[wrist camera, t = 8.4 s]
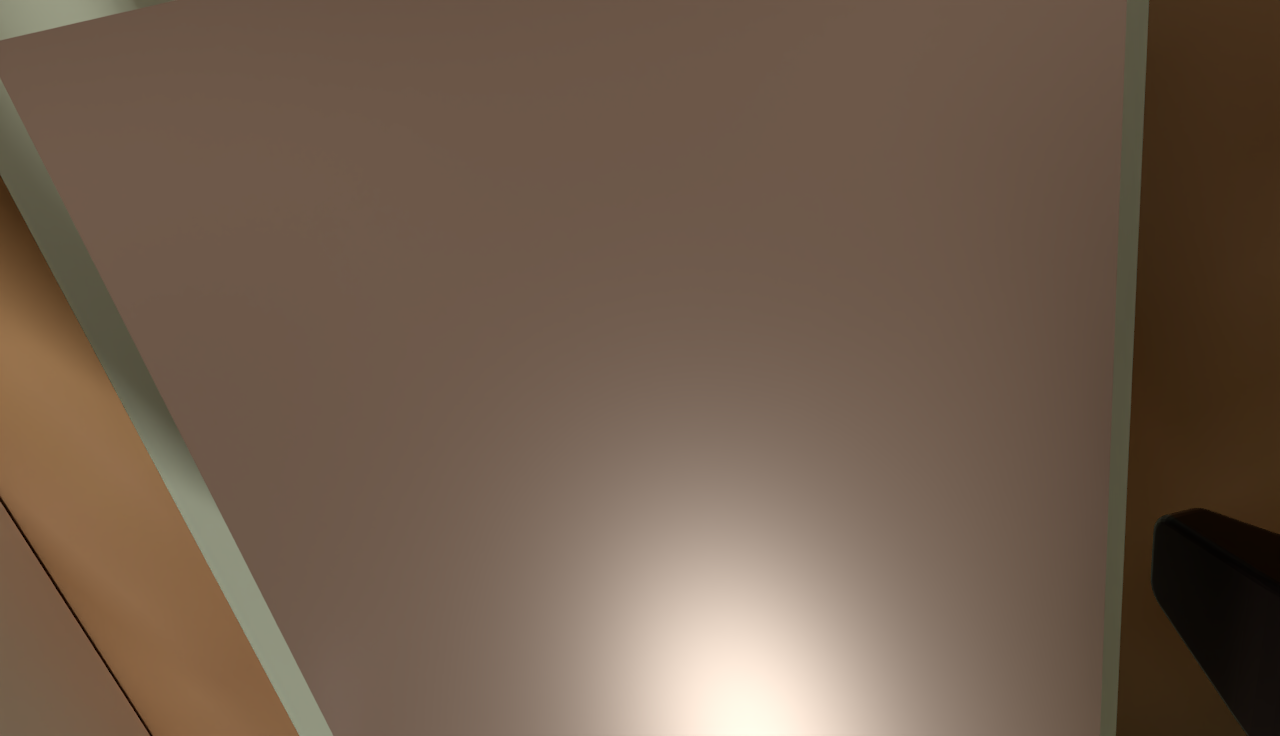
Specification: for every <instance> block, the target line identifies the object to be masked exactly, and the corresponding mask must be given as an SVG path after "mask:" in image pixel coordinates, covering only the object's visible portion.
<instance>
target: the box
mask: <svg viewBox="0 0 1280 736" xmlns="http://www.w3.org/2000/svg"><path fill="white" fill-rule="evenodd" d="M0 736H150V735H149V733H148V732H147V730H146V729H145V727H144V725H143V724H142V722H141V721H140V719H139V718H138V716H137V715H136V713H135V711H134V710H133V708H132V707H131V705H130V704H129V702H128V700H127V699H126V697H125V696H124V694H123V693H122V691H121V689H120V688H119V686H118V685H117V683H116V682H115V680H114V679H113V677H112V675H111V674H110V672H109V671H108V669H107V668H106V666H105V664H104V663H103V661H102V660H101V658H100V657H99V655H98V654H97V652H96V650H95V649H94V647H93V646H92V644H91V643H90V641H89V639H88V638H87V636H86V635H85V633H84V632H83V630H82V628H81V627H80V625H79V624H78V622H77V621H76V619H75V618H74V616H73V614H72V613H71V611H70V610H69V608H68V607H67V605H66V603H65V602H64V600H63V599H62V597H61V596H60V594H59V593H58V591H57V589H56V588H55V586H54V585H53V583H52V582H51V580H50V578H49V577H48V575H47V574H46V572H45V571H44V569H43V568H42V566H41V564H40V563H39V561H38V560H37V558H36V557H35V555H34V553H33V552H32V550H31V549H30V547H29V546H28V544H27V542H26V541H25V539H24V538H23V536H22V535H21V533H20V532H19V530H18V528H17V527H16V525H15V524H14V522H13V521H12V519H11V517H10V516H9V514H8V513H7V511H6V510H5V508H4V507H3V505H2V503H1V502H0Z"/></svg>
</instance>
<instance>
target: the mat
mask: <svg viewBox="0 0 1280 736" xmlns="http://www.w3.org/2000/svg"><path fill="white" fill-rule="evenodd" d="M170 1H175V0H0V40H4V39H9V38H13V37H17V36H22V35H26V34H30V33H35V32H39V31H43V30H48V29H52V28H57V27H61V26H65V25H70V24H74V23H78V22H83V21H87V20H92V19H96V18H100V17H105V16H109V15H113V14H118V13H122V12H127V11H131V10H135V9H140V8H144V7H148V6H153V5H157V4H161V3H166V2H170ZM1148 15H1149V0H1127V12H1126V39H1125V66H1124V94H1123V121H1122V148H1121V176H1120V203H1119V230H1118V258H1117V285H1116V312H1115V340H1114V367H1113V395H1112V422H1111V449H1110V477H1109V504H1108V531H1107V559H1106V586H1105V613H1104V641H1103V668H1102V695H1101V723H1100V736H1116V723H1117V701H1118V679H1119V656H1120V634H1121V612H1122V590H1123V568H1124V546H1125V524H1126V502H1127V479H1128V457H1129V435H1130V413H1131V391H1132V369H1133V347H1134V325H1135V302H1136V280H1137V258H1138V236H1139V214H1140V192H1141V170H1142V147H1143V125H1144V103H1145V81H1146V59H1147V37H1148ZM0 175H1V177H2V179H3V181H4V183H5V185H6V187H7V189H8V190H9V192H10V194H11V196H12V198H13V200H14V202H15V204H16V205H17V207H18V209H19V211H20V213H21V215H22V217H23V219H24V220H25V222H26V224H27V226H28V228H29V230H30V232H31V233H32V235H33V237H34V239H35V241H36V243H37V245H38V247H39V248H40V250H41V252H42V254H43V256H44V258H45V260H46V262H47V263H48V265H49V267H50V269H51V271H52V273H53V275H54V277H55V278H56V280H57V282H58V284H59V286H60V288H61V290H62V292H63V293H64V295H65V297H66V299H67V301H68V303H69V305H70V307H71V308H72V310H73V312H74V314H75V316H76V318H77V320H78V322H79V323H80V325H81V327H82V329H83V331H84V333H85V335H86V337H87V338H88V340H89V342H90V344H91V346H92V348H93V350H94V352H95V353H96V355H97V357H98V359H99V361H100V363H101V365H102V367H103V368H104V370H105V372H106V374H107V376H108V378H109V380H110V382H111V383H112V385H113V387H114V389H115V391H116V393H117V395H118V397H119V398H120V400H121V402H122V404H123V406H124V408H125V410H126V412H127V413H128V415H129V417H130V419H131V421H132V423H133V425H134V427H135V428H136V430H137V432H138V434H139V436H140V438H141V440H142V442H143V443H144V445H145V447H146V449H147V451H148V453H149V455H150V457H151V458H152V460H153V462H154V464H155V466H156V468H157V470H158V472H159V473H160V475H161V477H162V479H163V481H164V483H165V485H166V487H167V488H168V490H169V492H170V494H171V496H172V498H173V500H174V502H175V503H176V505H177V507H178V509H179V511H180V513H181V515H182V517H183V518H184V520H185V522H186V524H187V526H188V528H189V530H190V531H191V533H192V535H193V537H194V539H195V541H196V543H197V545H198V546H199V548H200V550H201V552H202V554H203V556H204V558H205V560H206V561H207V563H208V565H209V567H210V569H211V571H212V573H213V575H214V576H215V578H216V580H217V582H218V584H219V586H220V588H221V590H222V591H223V593H224V595H225V597H226V599H227V601H228V603H229V605H230V606H231V608H232V610H233V612H234V614H235V616H236V618H237V620H238V621H239V623H240V625H241V627H242V629H243V631H244V633H245V635H246V636H247V638H248V640H249V642H250V644H251V646H252V648H253V650H254V651H255V653H256V655H257V657H258V659H259V661H260V663H261V665H262V666H263V668H264V670H265V672H266V674H267V676H268V678H269V680H270V681H271V683H272V685H273V687H274V689H275V691H276V693H277V695H278V696H279V698H280V700H281V702H282V704H283V706H284V708H285V710H286V711H287V713H288V715H289V717H290V719H291V721H292V723H293V725H294V726H295V728H296V730H297V732H298V734H299V736H333V734H332V732H331V730H330V728H329V726H328V724H327V722H326V720H325V718H324V716H323V714H322V712H321V710H320V708H319V706H318V705H317V703H316V701H315V699H314V697H313V695H312V693H311V691H310V689H309V687H308V685H307V683H306V681H305V679H304V677H303V675H302V673H301V671H300V669H299V667H298V665H297V663H296V661H295V659H294V657H293V655H292V653H291V651H290V649H289V647H288V645H287V643H286V641H285V639H284V637H283V635H282V633H281V631H280V629H279V628H278V626H277V624H276V622H275V620H274V618H273V616H272V614H271V612H270V610H269V608H268V606H267V604H266V602H265V600H264V598H263V596H262V594H261V592H260V590H259V588H258V586H257V584H256V582H255V580H254V578H253V576H252V574H251V572H250V570H249V568H248V566H247V564H246V562H245V560H244V558H243V556H242V554H241V552H240V551H239V549H238V547H237V545H236V543H235V541H234V539H233V537H232V535H231V533H230V531H229V529H228V527H227V525H226V523H225V521H224V519H223V517H222V515H221V513H220V511H219V509H218V507H217V505H216V503H215V501H214V499H213V497H212V495H211V493H210V491H209V489H208V487H207V485H206V483H205V481H204V479H203V477H202V475H201V474H200V472H199V470H198V468H197V466H196V464H195V462H194V460H193V458H192V456H191V454H190V452H189V450H188V448H187V446H186V444H185V442H184V440H183V438H182V436H181V434H180V432H179V430H178V428H177V426H176V424H175V422H174V420H173V418H172V416H171V414H170V412H169V410H168V408H167V406H166V404H165V402H164V400H163V398H162V397H161V395H160V393H159V391H158V389H157V387H156V385H155V383H154V381H153V379H152V377H151V375H150V373H149V371H148V369H147V367H146V365H145V363H144V361H143V359H142V357H141V355H140V353H139V351H138V349H137V347H136V345H135V343H134V341H133V339H132V337H131V335H130V333H129V331H128V329H127V327H126V325H125V323H124V321H123V320H122V318H121V316H120V314H119V312H118V310H117V308H116V306H115V304H114V302H113V300H112V298H111V296H110V294H109V292H108V290H107V288H106V286H105V284H104V282H103V280H102V278H101V276H100V274H99V272H98V270H97V268H96V266H95V264H94V262H93V260H92V258H91V256H90V254H89V252H88V250H87V248H86V246H85V245H84V243H83V241H82V239H81V237H80V235H79V233H78V231H77V229H76V227H75V225H74V223H73V221H72V219H71V217H70V215H69V213H68V211H67V209H66V207H65V205H64V203H63V201H62V199H61V197H60V195H59V193H58V191H57V189H56V187H55V185H54V183H53V181H52V179H51V177H50V175H49V173H48V171H47V169H46V168H45V166H44V164H43V162H42V160H41V158H40V156H39V154H38V152H37V150H36V148H35V146H34V144H33V142H32V140H31V138H30V136H29V134H28V132H27V130H26V128H25V126H24V124H23V122H22V120H21V118H20V116H19V114H18V112H17V110H16V108H15V106H14V104H13V102H12V100H11V98H10V96H9V94H8V92H7V91H6V89H5V87H4V85H3V83H2V81H1V79H0Z"/></svg>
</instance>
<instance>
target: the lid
mask: <svg viewBox="0 0 1280 736" xmlns="http://www.w3.org/2000/svg"><path fill="white" fill-rule="evenodd" d="M1126 12H1127V0H175V1H170V2H166V3H161V4H157V5H153V6H148V7H144V8H140V9H135V10H131V11H127V12H122V13H118V14H113V15H109V16H105V17H100V18H96V19H92V20H87V21H83V22H78V23H74V24H70V25H65V26H61V27H57V28H52V29H48V30H43V31H39V32H35V33H30V34H26V35H22V36H17V37H13V38H9V39H4V40H0V79H1V81H2V83H3V85H4V87H5V89H6V91H7V92H8V94H9V96H10V98H11V100H12V102H13V104H14V106H15V108H16V110H17V112H18V114H19V116H20V118H21V120H22V122H23V124H24V126H25V128H26V130H27V132H28V134H29V136H30V138H31V140H32V142H33V144H34V146H35V148H36V150H37V152H38V154H39V156H40V158H41V160H42V162H43V164H44V166H45V168H46V169H47V171H48V173H49V175H50V177H51V179H52V181H53V183H54V185H55V187H56V189H57V191H58V193H59V195H60V197H61V199H62V201H63V203H64V205H65V207H66V209H67V211H68V213H69V215H70V217H71V219H72V221H73V223H74V225H75V227H76V229H77V231H78V233H79V235H80V237H81V239H82V241H83V243H84V245H85V246H86V248H87V250H88V252H89V254H90V256H91V258H92V260H93V262H94V264H95V266H96V268H97V270H98V272H99V274H100V276H101V278H102V280H103V282H104V284H105V286H106V288H107V290H108V292H109V294H110V296H111V298H112V300H113V302H114V304H115V306H116V308H117V310H118V312H119V314H120V316H121V318H122V320H123V321H124V323H125V325H126V327H127V329H128V331H129V333H130V335H131V337H132V339H133V341H134V343H135V345H136V347H137V349H138V351H139V353H140V355H141V357H142V359H143V361H144V363H145V365H146V367H147V369H148V371H149V373H150V375H151V377H152V379H153V381H154V383H155V385H156V387H157V389H158V391H159V393H160V395H161V397H162V398H163V400H164V402H165V404H166V406H167V408H168V410H169V412H170V414H171V416H172V418H173V420H174V422H175V424H176V426H177V428H178V430H179V432H180V434H181V436H182V438H183V440H184V442H185V444H186V446H187V448H188V450H189V452H190V454H191V456H192V458H193V460H194V462H195V464H196V466H197V468H198V470H199V472H200V474H201V475H202V477H203V479H204V481H205V483H206V485H207V487H208V489H209V491H210V493H211V495H212V497H213V499H214V501H215V503H216V505H217V507H218V509H219V511H220V513H221V515H222V517H223V519H224V521H225V523H226V525H227V527H228V529H229V531H230V533H231V535H232V537H233V539H234V541H235V543H236V545H237V547H238V549H239V551H240V552H241V554H242V556H243V558H244V560H245V562H246V564H247V566H248V568H249V570H250V572H251V574H252V576H253V578H254V580H255V582H256V584H257V586H258V588H259V590H260V592H261V594H262V596H263V598H264V600H265V602H266V604H267V606H268V608H269V610H270V612H271V614H272V616H273V618H274V620H275V622H276V624H277V626H278V628H279V629H280V631H281V633H282V635H283V637H284V639H285V641H286V643H287V645H288V647H289V649H290V651H291V653H292V655H293V657H294V659H295V661H296V663H297V665H298V667H299V669H300V671H301V673H302V675H303V677H304V679H305V681H306V683H307V685H308V687H309V689H310V691H311V693H312V695H313V697H314V699H315V701H316V703H317V705H318V706H319V708H320V710H321V712H322V714H323V716H324V718H325V720H326V722H327V724H328V726H329V728H330V730H331V732H332V734H333V736H1100V723H1101V695H1102V668H1103V641H1104V613H1105V586H1106V559H1107V531H1108V504H1109V477H1110V449H1111V422H1112V395H1113V367H1114V340H1115V312H1116V285H1117V258H1118V230H1119V203H1120V176H1121V148H1122V121H1123V94H1124V66H1125V39H1126Z"/></svg>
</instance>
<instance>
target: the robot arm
mask: <svg viewBox="0 0 1280 736" xmlns="http://www.w3.org/2000/svg"><path fill="white" fill-rule="evenodd" d="M1151 585H1152V590H1153V593H1154V596H1155V598H1156V600H1157V602H1158V604H1159V605H1160V607H1161V608H1162V610H1163V611H1164V613H1165V614H1166V616H1167V617H1168V619H1169V620H1170V622H1171V623H1172V625H1173V626H1174V628H1175V629H1176V631H1177V632H1178V634H1179V635H1180V637H1181V638H1182V640H1183V641H1184V643H1185V644H1186V646H1187V647H1188V649H1189V650H1190V652H1191V653H1192V655H1193V656H1194V658H1195V659H1196V661H1197V662H1198V664H1199V665H1200V667H1201V668H1202V670H1203V671H1204V673H1205V674H1206V676H1207V677H1208V679H1209V680H1210V682H1211V683H1212V685H1213V686H1214V688H1215V689H1216V691H1217V692H1218V694H1219V695H1220V697H1221V698H1222V700H1223V701H1224V703H1225V704H1226V706H1227V707H1228V709H1229V710H1230V712H1231V713H1232V715H1233V716H1234V717H1235V719H1236V720H1237V722H1238V723H1239V724H1240V726H1241V727H1242V729H1243V730H1244V731H1245V733H1246V734H1247V736H1280V535H1279V534H1276V533H1273V532H1270V531H1268V530H1265V529H1262V528H1259V527H1256V526H1253V525H1250V524H1247V523H1244V522H1241V521H1239V520H1236V519H1233V518H1230V517H1227V516H1224V515H1221V514H1218V513H1215V512H1213V511H1210V510H1206V509H1203V508H1192V509H1188V510H1184V511H1180V512H1176V513H1172V514H1168V515H1164V516H1162V517H1160V518H1159V519H1158V520H1157V522H1156V524H1155V526H1154V533H1153V549H1152V564H1151Z"/></svg>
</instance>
